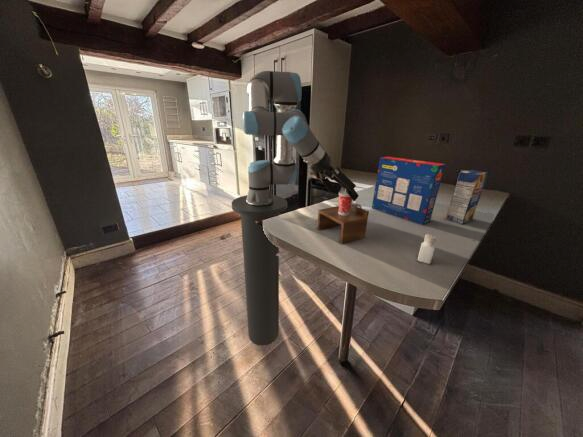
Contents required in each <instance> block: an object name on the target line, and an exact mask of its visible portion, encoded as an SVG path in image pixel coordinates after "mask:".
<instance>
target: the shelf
mask: <svg viewBox="0 0 583 437" xmlns="http://www.w3.org/2000/svg"><path fill="white" fill-rule="evenodd" d="M338 209H339V205H337V206H331V207H326V208H321V209H318V211H317V212H318V213H317V224H316V225H317V226H316V227H317V228H316V229H317V230H323V229H327V228H331V227H334V226H339V225H341V227H340V228H341V229H340V237H339V244H341V245H343V244H347V243H349V242H352V241H356V240H359V239H363V238H365V237H366V232H367V226H368V220H369V214H370V211H368V210H366V209H364V208H362V209H361V208H360V207H359V206H358V207H357V206H354V205H352V204H351V209H350V214H349V215H347V216H343V215H340V214H338Z"/></svg>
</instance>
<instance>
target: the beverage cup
mask: <svg viewBox="0 0 583 437" xmlns="http://www.w3.org/2000/svg"><path fill="white" fill-rule="evenodd" d="M351 204H352V199H351V197H350V196H349V194H348V193H347V192H346V190H340V191H338V206H339V209H338V214H340V215H343V216H347V215H349V214H350V209H351Z"/></svg>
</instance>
